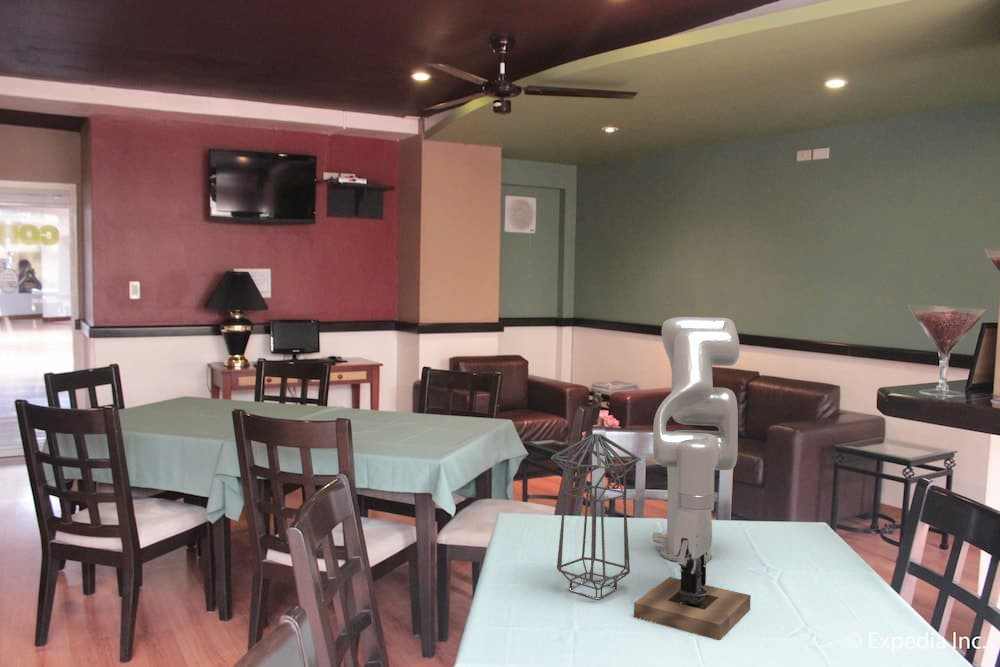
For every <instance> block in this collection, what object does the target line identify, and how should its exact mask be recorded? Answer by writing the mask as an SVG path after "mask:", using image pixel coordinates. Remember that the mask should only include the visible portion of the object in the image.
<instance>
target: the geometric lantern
mask: <svg viewBox="0 0 1000 667" xmlns="http://www.w3.org/2000/svg"><path fill="white" fill-rule="evenodd" d="M591 444H592V445H591ZM609 444H610V445H609ZM590 446H591V447H590ZM611 446H613V447H614V448H615V449H618V450H620V451H621V452H623V453H624V454H627V455H628V456H626V455H625V456H624V455H623V456H621V455H619V454H618V453H617V452H616V451H615V449H614V448H612V447H611ZM575 447H577V448H576V449H575V450H574V451H573V452H571V453H570V454H569V455H567V456H566V455H565V456H564V455H563V454H565V453H567V452H568V451H570V450H571V449H573V448H575ZM600 447H601V448H602V451H603V452H600ZM589 448H590V450H589ZM594 449H595V450H594ZM588 452H589V453H590V452H591V454H593V455H594V456H595V457H596V463H597V464H582V463H583V461H584V459H585V458H586V455H587V453H588ZM601 456H602V457H604V459H605V461H604V460H603V458H601ZM578 458H579V460H578ZM550 459H551V461H553V462H554V463H556V464H557V466H558V467H560V468H561V469H562V470H563V472H565V474H566V476H565V484H564V488H563V490H562V509H561V523H560V532H559V541H558V543H559V544H558V551H557V553H558V554H557V560H556V570H558V572H559V573H561V574H562V575H563V577H564V578H566V579H567V580H568V582H569V584H568V585H569V586H568V589H569V588H571V590H573V589H572V587H573V584H574V585H577V584H579V585H578V586H583V587H585V588H586V587H587V588H589V589H594V590H595V596H592V595H589V594H587V593H582V592H581V593H582V594H585V595H588V596H591V597H594V598H602V599H604V598H605V597H607V596H609V595H610V593H611V594H613V593H615V592H616V591H618V590H617V589H618V582H619V581H621V579H623V578H625V577H627V575H629V574H630V573H631V568H630V567H631V566H630V551H629V550H630V549H629V548H630V547H629V534H628V516H627V481H626V476H627V475H626V474H628V472H630V470H632V468H633V467H634V466H636V464H638V462H639V461H642V458H640V457H639V456H637V455H636V454H633V452H630V451H629V450H627V449H625V448H624V447H622V446H621V445H619V444H618V443H616V442H614V441H613V440H611V439H609V438H608V437H606V436H604V435H603V434H601V433H599V434H598V433H592V434H590V435H588V436H587V437H585V438H584V439H583V438H582V440H580V441H578V442H576V443H574V444H572V445H570V446H568V447H566V448H564V449H563V450H561V451H558V452H556V453H555V454H553V455H552V456H551V457H550ZM625 459H626V460H627V459H629V461H627V462H626V463H624V462H623V460H625ZM608 460H609V461H608ZM614 461H616V462H619V464H615V463H614ZM609 462H610V463H609ZM565 463H566V464H567V465H566V464H565ZM602 464H603V465H604V466H602ZM630 464H631V465H630ZM571 465H574V466H571ZM629 465H630V466H629ZM628 466H629V467H628ZM627 467H628V468H627ZM580 468H591V469H589V470H587V471H586V472H584V473H582V474H581V471H580V470H581V469H580ZM599 468H600V469H605V470H604V473H602V476H601V477H600V478H599V480H598V481H597V483H596V484H595V485H588V483H587V482H586V480H585V479H584V477H585V476H587V475H589V474H590V473H592V472H594V471H596V470H598V469H599ZM571 470H576V472H577V473H578V475H577V474H575V475H572V474H571ZM622 470H623V473H622V474H621V475H619V472H621V471H622ZM612 471H615V475H614V473H613V472H612ZM607 473H609V475H610V476H611V477H612V478H611V479H610V480H609V482H608V483H607V485H606V487H602V486H599V485H600V484H601V482H602V481H603V479H604V478H605V476H606V474H607ZM570 478H571V479H573V478H575V479H581V482H582V483H583V485H584V486H580V487H576V488H573V489H569V490H568V483H569V480H570ZM621 479H623V488H622V484H621V483H622V482H621V481H620V480H621ZM613 480H614V481H618V485H619V488H620V490H617V489H612V488H608V487H609V486H610V484H611V482H612V481H613ZM583 489H586V492H585V497H583V496H580V495H575V494H571V493H570V492H574V491H578V490H583ZM590 489H594V494H593V493H592V491H591V490H590ZM597 489H599V490H603V491H602V492H601V494H600V495H599V497H598V496H597ZM606 491H610V492H616V493H620V494H621V495H618V496H613V497H609V498H606V499H601V498H602V497H603V495H604V493H605V492H606ZM567 496H569V497H574V498H577V499H581V500H585V507H584V508H585V509H584V521H583V523H584V524H583V538H582V550H581V551H582V552H581V557H580V558H577V559H574V560H571V561H569V562H566V563H563V548H564V547H563V545H564V532H565V531H564V530H565V529H564V528H565V514H566V512H565V511H566V505H567V504H566V503H567V501H566V500H567ZM589 496H590V497H591V498H589ZM597 497H598V498H597ZM620 498H622V500H623V502H622V503H623V504H622V505H623V540H624V541H623V543H624V544H623V546H624V547H623V548H624V554H623V555H624V556H623V558H624V563H623V564H624V565H623V564H620V563H619V564H618V563H615V562H612V561H611V562H610V561H607V560H606V555H605V554H606V551H605V524H604V522H605V519H604V517H605V516H604V502H608V501H611V500H616V499H620ZM589 501H590V502H591V503H592V505H591V506H592V507H591V509H592V510H591V543H590V546H591V549H590V553H591V554H590V555H591V556H590V557H585V551H586V539H587V525H588V524H587V523H588V522H587V521H588V509H589V508H588V507H589ZM597 502H598V503H600V521H601V522H600V526H601V558H602V559H601V558H596V550H597V549H596V548H597V547H596V545H597V544H596V542H597ZM586 560H587V561H590V569H589V571H588V570H587V566H586V563H585V561H586ZM580 561H582V564H583V568H584V572H583V573H580V574H575V573H573V572H570V571H567V570H563V567H568V566H570V565H572V564H575V563H577V562H580ZM595 561H596V562H599V563H602V574H599V573H595V572H594V563H595ZM606 565H611V566H614V567H618V568H622V570H621V571H620V572H619V573H618V574H615V575H611V576H609V575H608V576H607V575H606ZM587 575H589V577H588V578H587ZM568 576H571V577H573V578H570V577H568ZM594 576H596V577H597V576H598V577H601V579H594ZM576 579H580V580H583V581H584V580H586V581H589V582H590V583H592V584H593V586H592V585H588V584H586V583H585V584H584V583H582V584H581V583H580V582H577V581H575V580H576ZM610 580H613V581H611V582H609V583H606V582H608V581H610ZM595 582H599V583H602V584H600V587H597V585H596V583H595ZM604 584H606V585H604ZM609 586H613V587H615V588H613V587H612V588H613V590H611V591H609V592H607V593H606V594H603V589H605V588H607V587H609ZM599 590H600V596H599V597H598V591H599ZM615 590H616V591H615ZM612 592H613V593H612ZM608 594H609V595H608ZM606 595H607V596H606ZM604 596H605V597H604ZM603 597H604V598H603ZM594 598H593V599H594Z"/></svg>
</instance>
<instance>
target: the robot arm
mask: <svg viewBox="0 0 1000 667" xmlns="http://www.w3.org/2000/svg"><path fill="white" fill-rule="evenodd" d="M661 338H662V345H663V347H664V351H665V353H666V356H667V358H668V360H669V364H670V368H671V369H670V370H671V390H670V391H671V392H670V393H669V395H667V396H666V398H664V400H663V401H662V402H661V404H660V405H659V407H658V408H657V410H656V412H655V416H654V418H653V430H652V431H653V433H652V453H653V454H652V455H653V458H654V460H655V462H656V463H657V464H658V465H659V466H661V467H666V470H667V505H666V506H667V509H666V510H667V512H666V513H667V515H666V518H667V519H666V521H667V522H666V523H667V524H666V533H665V534H664V533H661V532H655V531H654V532H653V533H652V542H653V543H657V544H661V545H662V546H661V547H660V550H659V552H660V555H661V556H662V557H663V558H665V559H667V560H670V561H673V562H676V563H677V564H678V566H679V567H680V569H679V572H680V579H681V590H682V591H686V592H691V593H696V592H697V573H695V569H696V559H698V558H699V557H700V558H701V571H702V573H703V574H702V575H701V585H702V586H704V585H707V584H706V583H707V580H706V579H707V576H706V575H707V563H708V561H710V560H711V559H712V557H713V552H712V551H711V547H712V543H713V541H712V540H713V522H712V521H713V518H712V511H714V509H715V471H730V470H732V469H734V468H735V466H736V465H737V461H738V453H739V452H738V449H739V446H738V441H739V440H738V436H739V434H738V432H739V431H738V429H739V426H738V424H739V422H738V421H739V420H738V418H739V414H738V412H739V411H738V401H737V396H736V395H735V392H734V391H733V390H732V389H729V388H726V387H718V386H717V387H714V386H713V385H714V382H713V367H714V366H720V367H727V366H728V367H731V366H733V365H735V364H736V363H737V362H738V360H739V357H740V339H739V334H738V331H737V328H736V325H735V322H734V321H733V320H732V319H730V318H728V317H707V316H705V317H702V316H701V317H700V316H677V317H672V318H669V319H666V320H664V322H663V323H662V325H661ZM671 417H672V418H673V420H674V421H675V422H676V423H678V424H681V425H688V426H691V425H692V426H710V427H711V426H712V427H713V426H714V427H716V428H718V431H717V430H716V431H715V430H714V431H713V430H700V429H699V430H696V429H695V430H694V429H693V430H691V429H682V430H681V429H679V430H674V431H667V422H668V421H669V419H670V418H671ZM689 555H691V556H692V557H688V556H689ZM687 560H688V561H692V563H691V565H690V563H688V562H687Z"/></svg>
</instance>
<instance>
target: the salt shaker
mask: <svg viewBox="0 0 1000 667" xmlns="http://www.w3.org/2000/svg"><path fill="white" fill-rule="evenodd" d="M688 557H692V556H691V555H689V556H688ZM687 562H688V563H690V565H691V563H692V561H688V560H687ZM695 573H697V592H696V593H691V592H686V591H682V590H681V587H680V588H679V592H680V595H681V598H682V599H683V600H684V601H685V602H683V603H681V604H683V605H687V606H691V607H695V608H699V609H703V610H705V609H706V607H705V606H704V605H703V604H702V602H704V601H705V599H706V595H707V594H708V591H707V590H706V589H705V588H703V587H702V585H701V575H702V574H703V573H702V571H701V558H700V557H699V558H698V559H696V569H695Z"/></svg>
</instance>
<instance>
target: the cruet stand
mask: <svg viewBox="0 0 1000 667" xmlns="http://www.w3.org/2000/svg"><path fill="white" fill-rule="evenodd" d="M680 587H681V578H676V577H672V576H669V577H668V578H666V579H664V580H663V581H662V582H661V583H659V584H658V585H656V586H655V587H653V588H652V589H651V590H650V591H648V592H647V593H646V594H644V595H642V596H641V597H640V598H639V599H637V600H636V601H634V602H633V617H634V618H636V617H637V618H636V619H639V618H641V619H640V620H643V619H645V620H644V621H647V620H648V621H647V622H650V621H652V623H654V622H656V623H655V624H658V625H662V624H663V625H662V626H665V625H666V627H669V626H670V627H669V628H673V629H676V630H681V631H684V632H688V633H692V634H696V635H699V636H703V637H707V638H711V639H715V640H718V641H720V640H722V638H723V637H724V636H725V635H726V634H727V633H729V631H731V629H732V628H733V627H735V626H736V624H737V623H738V622H739V621H740V620H742V618H743V617H744V616H745V615H746V614H747V613H748V612H749V611H750V610H751V597H752V596H751V594H746V593H743V592H738V591H734V590H729V589H726V588H721V587H717V586H712V585H707V584H705V585H704V586H702V587H703V588H705V589H706V590H707V591H708V594H707V595H706V599H705V601H704V602H702V604H703V605H704V606H705V607H706V609H705V610H703V609H699V608H695V607H691V606H687V605H683V604H681V603H683V602H685V601H684V600H683V599H682V598H681V595H680V592H679V588H680Z"/></svg>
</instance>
